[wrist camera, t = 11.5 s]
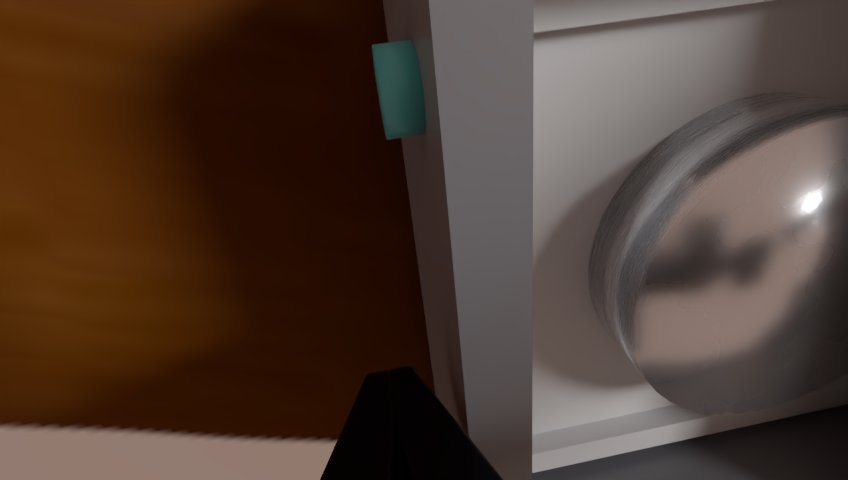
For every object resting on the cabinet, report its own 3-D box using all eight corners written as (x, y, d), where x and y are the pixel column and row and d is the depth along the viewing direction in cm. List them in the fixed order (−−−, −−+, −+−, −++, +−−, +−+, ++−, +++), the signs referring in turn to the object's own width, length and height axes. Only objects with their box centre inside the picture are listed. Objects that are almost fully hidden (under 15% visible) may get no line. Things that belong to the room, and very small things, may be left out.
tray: (1004, -161, 10) (1678, -320, 5) (801, 379, 17) (988, 535, 12) (342, -90, 8) (343, -203, 4) (428, 458, 16) (468, 667, 11)
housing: (1079, -167, 10) (1843, -335, 5) (851, 361, 17) (1065, 515, 12) (488, -103, 9) (686, -232, 4) (507, 433, 16) (584, 637, 11)
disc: (620, 95, 9) (685, 119, 7) (924, 87, 10) (1046, 106, 8) (567, 369, 12) (604, 431, 11) (801, 343, 13) (871, 396, 12)
